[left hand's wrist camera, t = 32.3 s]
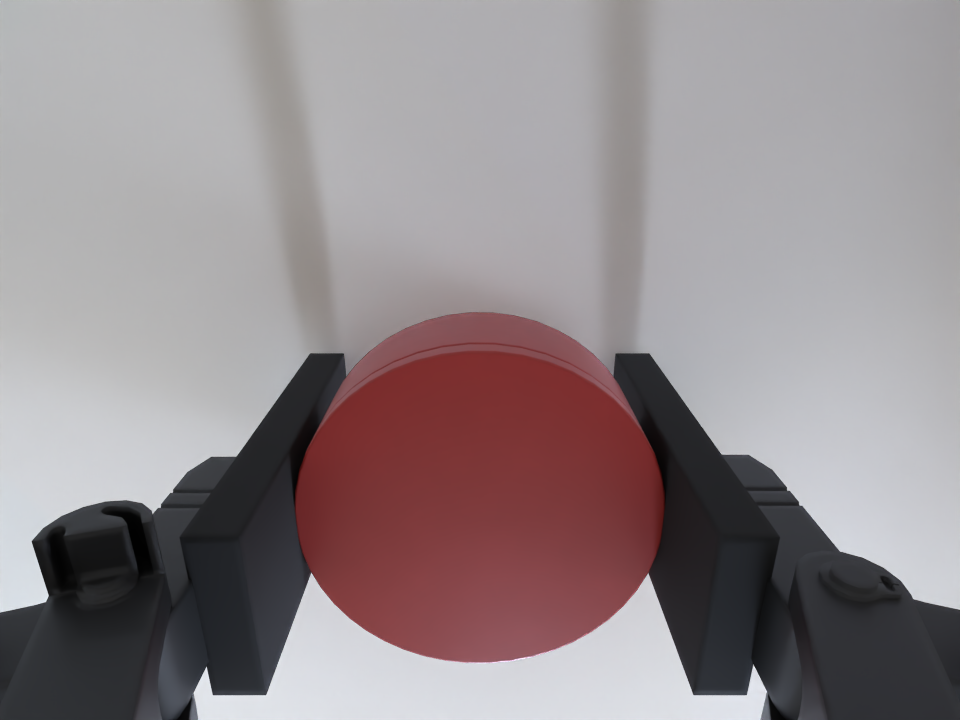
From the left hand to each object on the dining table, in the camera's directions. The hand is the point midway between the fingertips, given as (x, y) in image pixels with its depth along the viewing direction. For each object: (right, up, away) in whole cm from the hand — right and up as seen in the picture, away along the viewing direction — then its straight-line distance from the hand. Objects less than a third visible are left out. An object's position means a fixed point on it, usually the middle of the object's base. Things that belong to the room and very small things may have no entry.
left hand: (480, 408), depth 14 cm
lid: (0, -1, -4) cm, 4 cm away
